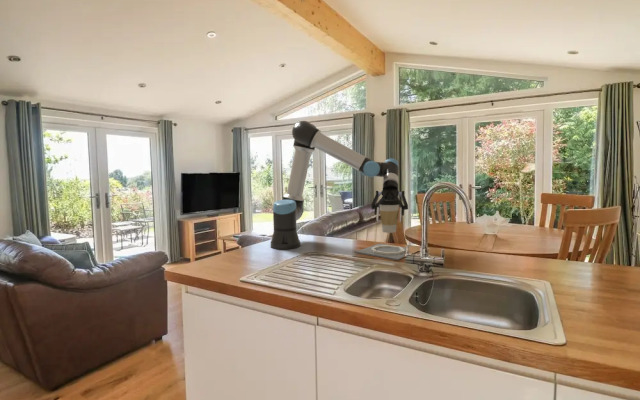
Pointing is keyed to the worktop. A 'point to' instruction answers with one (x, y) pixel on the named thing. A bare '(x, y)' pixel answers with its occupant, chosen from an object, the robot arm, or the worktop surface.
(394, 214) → the coffee cup
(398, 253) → the slate board
